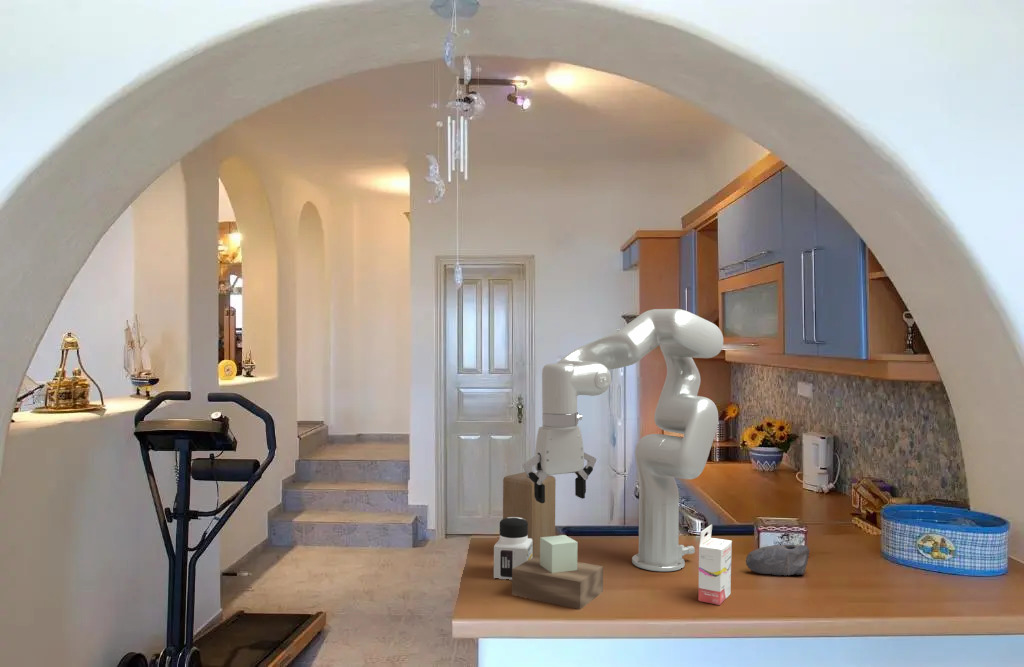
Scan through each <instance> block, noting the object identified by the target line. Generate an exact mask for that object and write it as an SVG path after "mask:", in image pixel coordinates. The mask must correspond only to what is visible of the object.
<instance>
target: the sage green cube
mask: <svg viewBox="0 0 1024 667" xmlns="http://www.w3.org/2000/svg"><path fill="white" fill-rule="evenodd" d="M578 550H579V549H578V541H576V540H575V539H573V538H571V537H569V536H567V535H566V534H560V535H555V536H550V537H540V565H541V566H542V567H544V568H545V569H547V570H548V571H550V572H551V573H557V572H565V571H573V570H577V562H578Z"/></svg>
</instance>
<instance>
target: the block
mask: <svg viewBox="0 0 1024 667" xmlns="http://www.w3.org/2000/svg"><path fill="white" fill-rule="evenodd" d="M534 473H535V474H536V472H534ZM543 484H544V485H545V502H544V503H540V502H538V501H536V498H535V496H534V482H532V480H531V479H530V478H529V477H528V476H527V474H526V472H525V471H524V472H523V471H522V472H519V473H515V474H510V475H505V476H504V477H503V480H502V519H505V518H508V517H519V518H523V519H525V520H526V521H527V522H528V538H530V539H532V540H533V544H532V558H533V557H535V556H537V555H540V537H550V536H556V477H555V476H554V475H548V476H547V477H546V478H545V480H544V481H543Z"/></svg>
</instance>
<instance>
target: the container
mask: <svg viewBox="0 0 1024 667" xmlns="http://www.w3.org/2000/svg"><path fill="white" fill-rule="evenodd" d="M532 544H533V540H532V539H530V538H528V522H527V521H526V520H525V519H523V518H519V517H508V518H505V519H503V518H502V519H501V520H500V522H499V539H498V541H497V542H496V543H495V544H494V546H493V579H495V578H499V579H498V580H506V579H509V580H508V581H512V569H513V568H515V567H517V566H519V565H521V564H522V563H524V562H526V561H528V560H530V559H531V558H532Z"/></svg>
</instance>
